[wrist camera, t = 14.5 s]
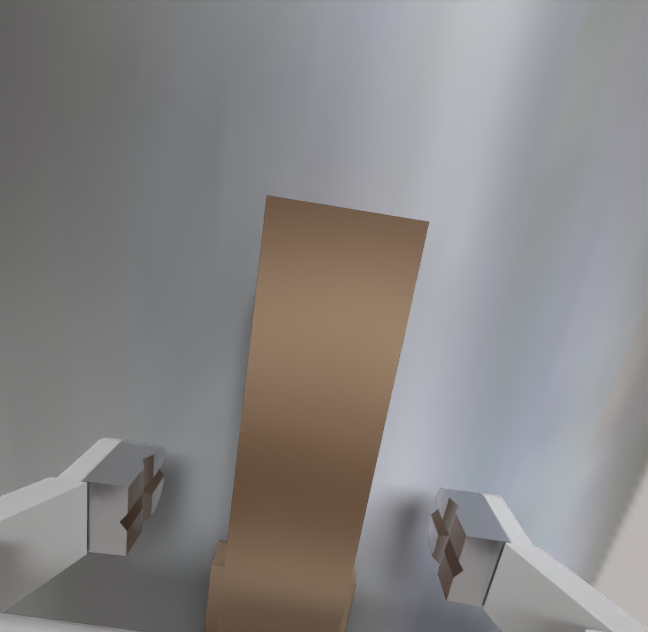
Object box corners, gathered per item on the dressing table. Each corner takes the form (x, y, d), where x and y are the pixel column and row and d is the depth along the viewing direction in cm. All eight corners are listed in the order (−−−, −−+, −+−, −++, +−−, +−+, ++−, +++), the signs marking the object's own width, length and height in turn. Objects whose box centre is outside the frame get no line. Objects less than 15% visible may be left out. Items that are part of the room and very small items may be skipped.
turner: (256, 202, 10) (212, 186, 6) (425, 230, 10) (482, 230, 7) (205, 677, 15) (160, 837, 11) (324, 693, 15) (322, 857, 11)
